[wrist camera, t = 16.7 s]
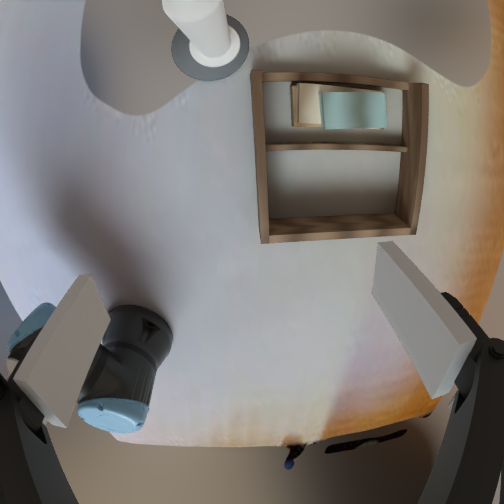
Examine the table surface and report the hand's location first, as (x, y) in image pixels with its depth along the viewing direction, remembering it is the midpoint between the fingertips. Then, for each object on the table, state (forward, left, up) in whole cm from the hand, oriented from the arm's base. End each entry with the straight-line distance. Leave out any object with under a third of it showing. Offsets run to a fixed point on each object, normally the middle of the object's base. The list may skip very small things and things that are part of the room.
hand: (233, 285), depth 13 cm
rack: (+15, 0, -34) cm, 37 cm away
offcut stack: (+15, +7, -34) cm, 38 cm away
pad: (-3, +17, -34) cm, 38 cm away
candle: (-2, +17, -34) cm, 38 cm away
